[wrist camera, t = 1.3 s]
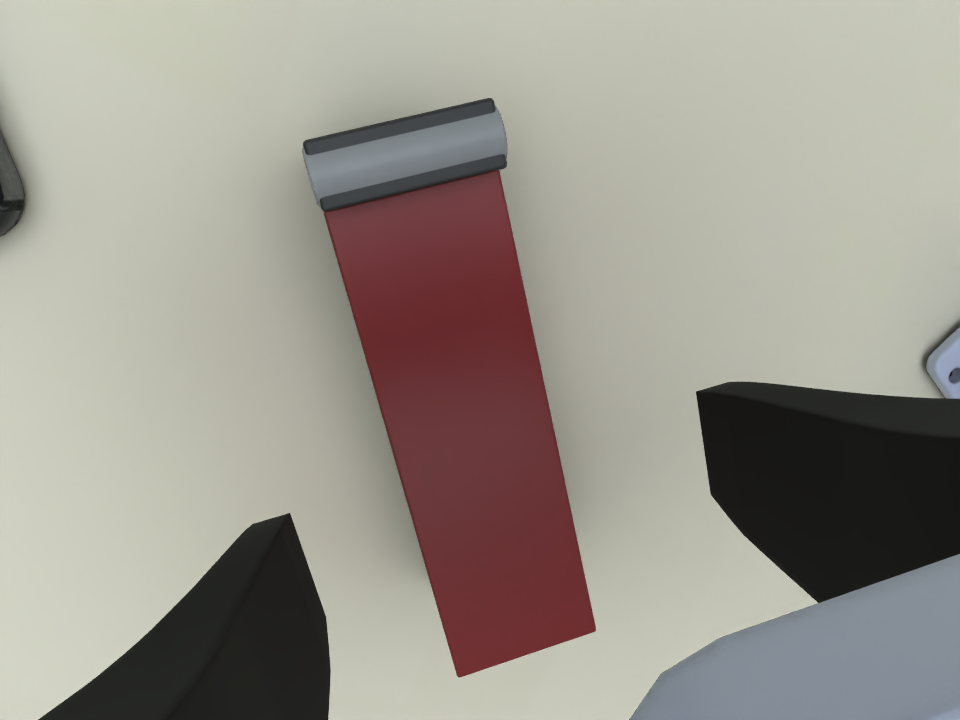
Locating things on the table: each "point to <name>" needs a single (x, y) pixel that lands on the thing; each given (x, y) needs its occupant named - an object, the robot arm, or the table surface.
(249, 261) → the table surface
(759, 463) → the robot arm
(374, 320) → the red two-tone bar
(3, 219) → the phone
